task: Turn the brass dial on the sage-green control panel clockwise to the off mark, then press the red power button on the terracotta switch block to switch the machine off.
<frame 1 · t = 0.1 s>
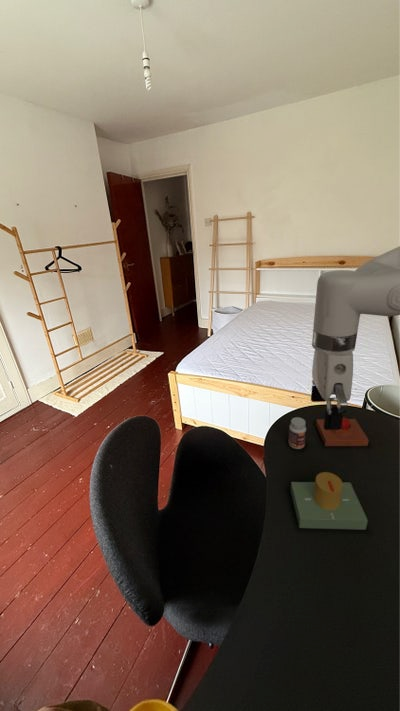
hand: (324, 414, 63), 24 cm above the table, tool pointing down, fingers open, 9 cm apart
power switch: (340, 434, 92), on the table
power button: (342, 423, 90), point 4 cm above the table, slide at 0.1 cm
pill bottle: (296, 444, 90), on the table
dial: (327, 490, 67), point 6 cm above the table, hinge at 90.0°
control panel: (325, 508, 70), on the table
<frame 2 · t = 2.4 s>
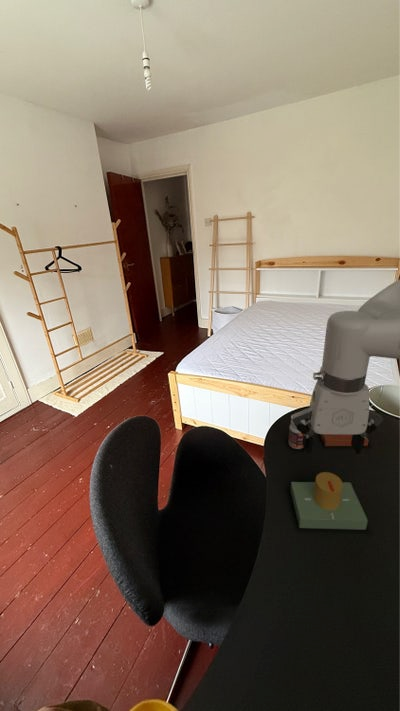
hand: (331, 449, 62), 18 cm above the table, tool pointing down, fingers open, 9 cm apart
nothing on the table moved.
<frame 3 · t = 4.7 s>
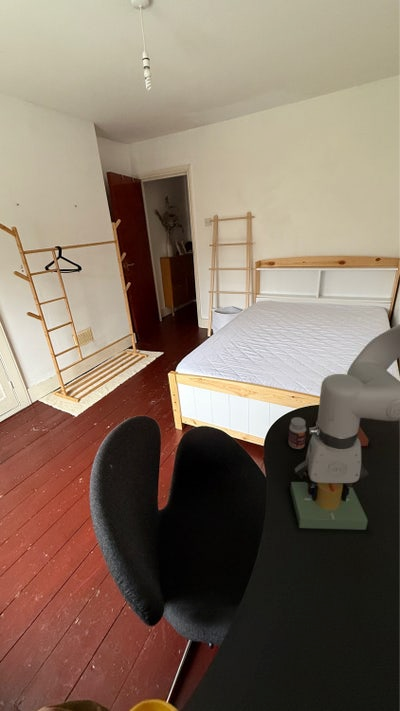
hand: (327, 495, 68), 4 cm above the table, tool pointing down, fingers closed on dial, 5 cm apart
dial: (327, 490, 67), point 6 cm above the table, hinge at 90.0°, touching gripper
everything else where it was.
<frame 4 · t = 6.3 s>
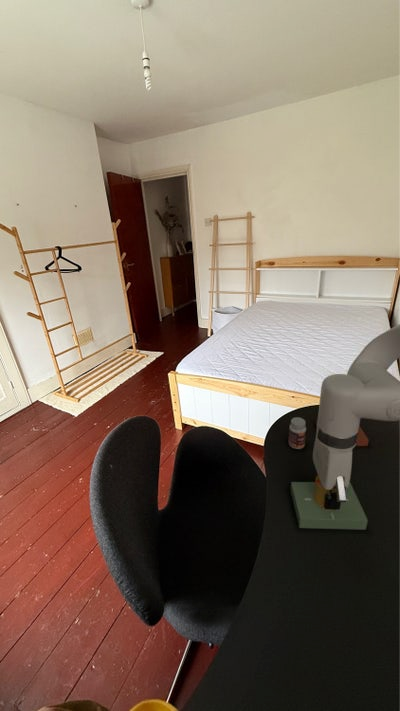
hand: (327, 495, 68), 4 cm above the table, tool pointing down, fingers closed on dial, 5 cm apart
dial: (327, 490, 67), point 6 cm above the table, hinge at -0.4°, touching gripper
everything else where it was.
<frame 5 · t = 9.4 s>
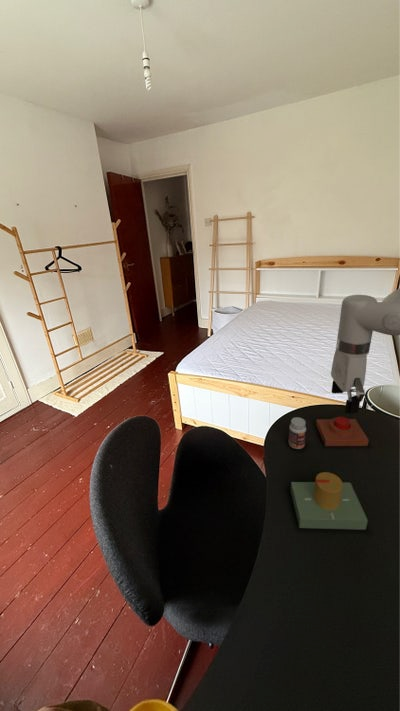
hand: (343, 402, 82), 15 cm above the table, tool pointing down, fingers open, 9 cm apart
dial: (327, 490, 67), point 6 cm above the table, hinge at -0.1°
everything else where it was.
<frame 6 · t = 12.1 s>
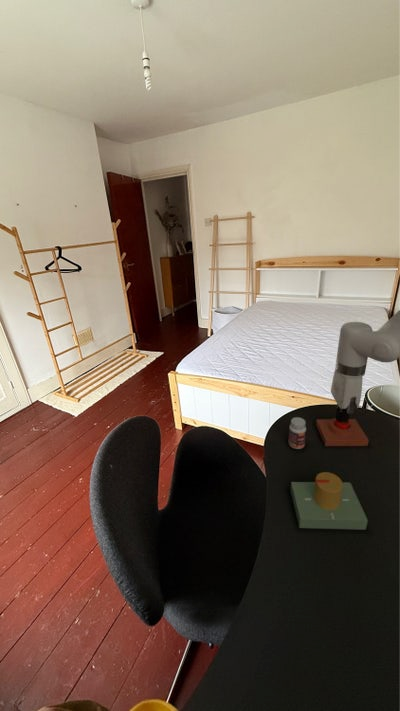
hand: (341, 420, 90), 5 cm above the table, tool pointing down, fingers closed
power button: (342, 423, 90), point 4 cm above the table, slide at 0.1 cm, touching gripper
everything else where it was.
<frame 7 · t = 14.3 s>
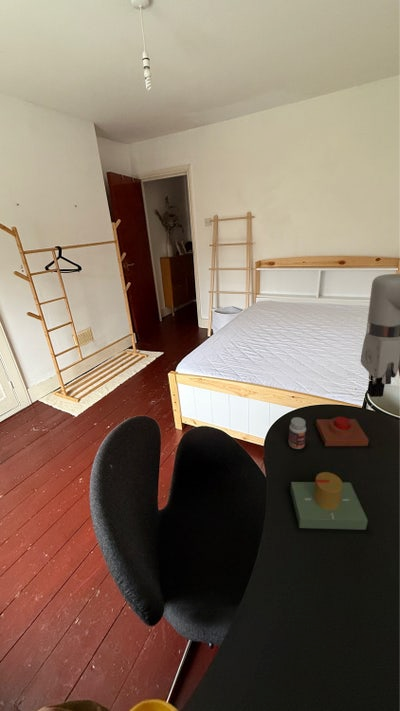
hand: (374, 395, 77), 19 cm above the table, tool pointing down, fingers closed
power button: (342, 423, 90), point 4 cm above the table, slide at 0.1 cm
everything else where it was.
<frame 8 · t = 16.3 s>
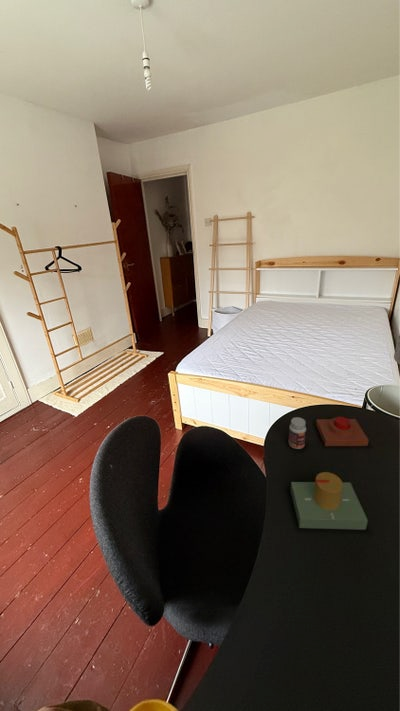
nothing on the table moved.
at the end: dial at +0° (first picture: +90°); power button pushed in 1.1 cm at the most during the clip, back to where it started at the end; power button slide at 0.1 cm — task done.
